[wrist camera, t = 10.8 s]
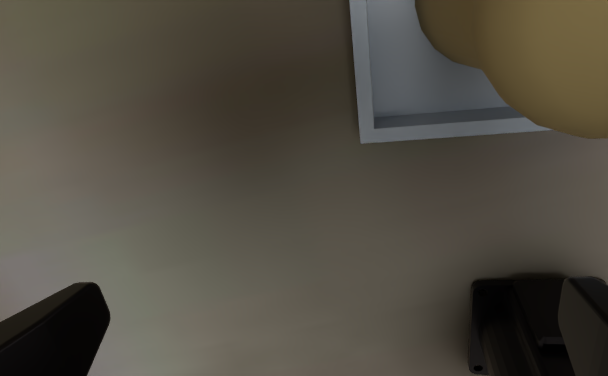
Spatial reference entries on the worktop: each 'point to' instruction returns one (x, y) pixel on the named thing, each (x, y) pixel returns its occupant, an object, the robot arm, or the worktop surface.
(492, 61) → the cork
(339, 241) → the worktop surface
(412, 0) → the tray
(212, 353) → the worktop surface
